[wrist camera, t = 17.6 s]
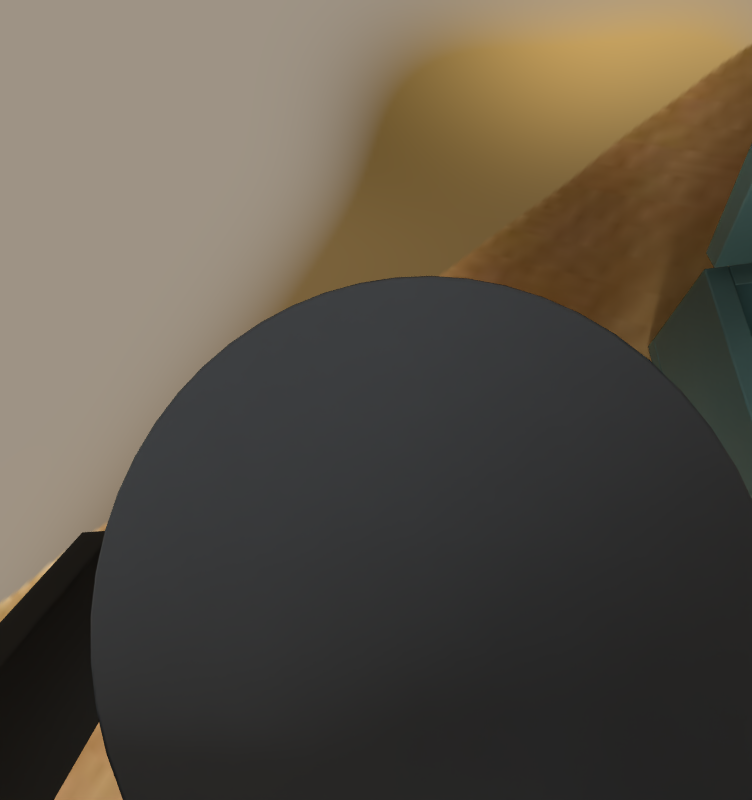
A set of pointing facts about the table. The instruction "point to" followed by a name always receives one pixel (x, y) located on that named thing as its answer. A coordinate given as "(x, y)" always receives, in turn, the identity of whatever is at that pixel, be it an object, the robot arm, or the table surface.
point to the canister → (427, 566)
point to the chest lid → (735, 223)
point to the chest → (715, 356)
